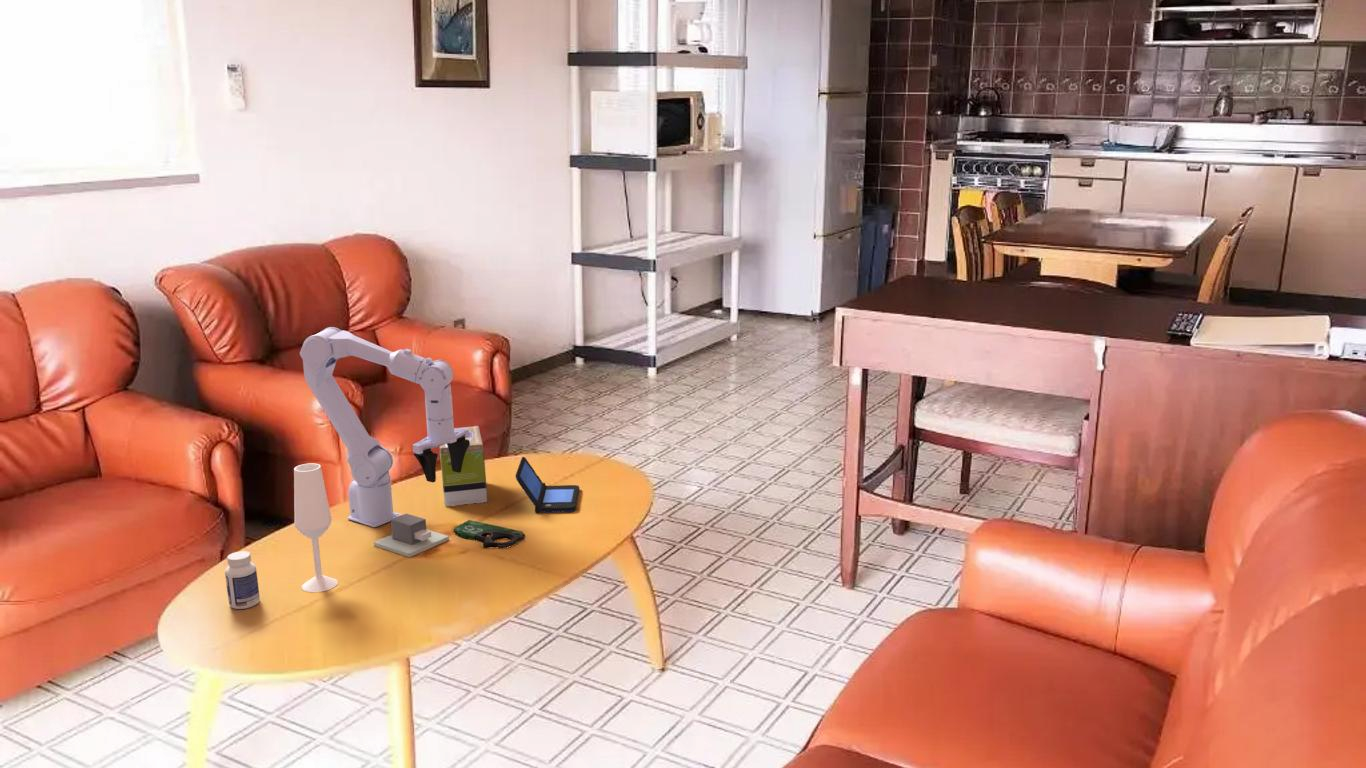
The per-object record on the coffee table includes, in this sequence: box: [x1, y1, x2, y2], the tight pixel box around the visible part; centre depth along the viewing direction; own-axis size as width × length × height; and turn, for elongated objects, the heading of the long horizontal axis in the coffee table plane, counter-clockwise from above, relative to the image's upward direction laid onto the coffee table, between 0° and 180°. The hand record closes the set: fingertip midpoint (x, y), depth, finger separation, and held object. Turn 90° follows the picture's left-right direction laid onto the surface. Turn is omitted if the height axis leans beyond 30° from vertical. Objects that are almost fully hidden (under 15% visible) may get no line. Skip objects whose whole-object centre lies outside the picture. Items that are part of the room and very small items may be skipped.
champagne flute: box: [293, 462, 339, 593], centre depth 207 cm, size 7×7×24 cm
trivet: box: [373, 528, 450, 558], centre depth 230 cm, size 11×11×1 cm
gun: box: [453, 519, 526, 549], centre depth 232 cm, size 16×2×10 cm
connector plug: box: [390, 513, 431, 545], centre depth 229 cm, size 8×4×4 cm, turn 55°
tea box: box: [439, 425, 488, 507], centre depth 256 cm, size 15×10×15 cm, turn 14°
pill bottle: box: [224, 550, 261, 610], centre depth 201 cm, size 5×5×10 cm
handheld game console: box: [515, 456, 580, 514], centre depth 252 cm, size 16×13×9 cm
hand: (444, 476), depth 239 cm, fingers open, 7 cm apart
